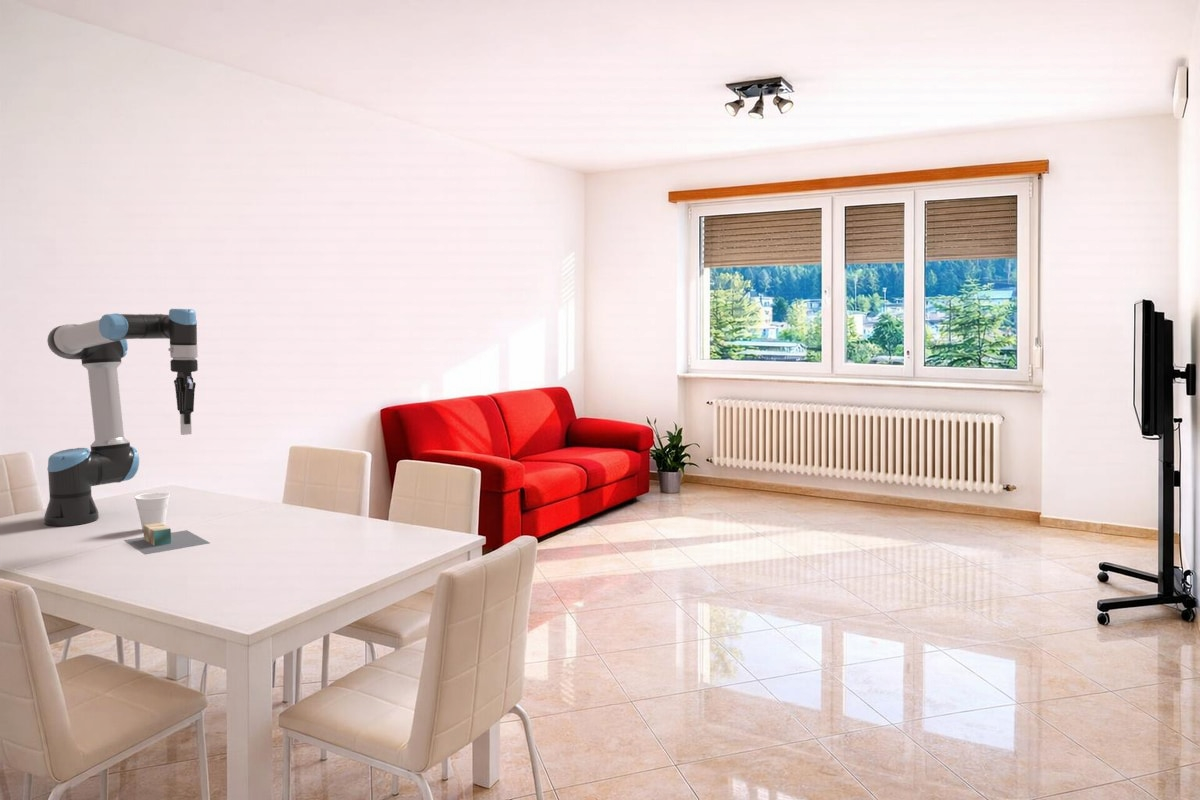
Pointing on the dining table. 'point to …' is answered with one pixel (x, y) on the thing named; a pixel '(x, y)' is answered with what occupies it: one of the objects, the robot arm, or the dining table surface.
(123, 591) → the dining table surface
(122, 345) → the robot arm
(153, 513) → the cup
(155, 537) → the beech block
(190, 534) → the mat
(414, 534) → the dining table surface
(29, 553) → the dining table surface
